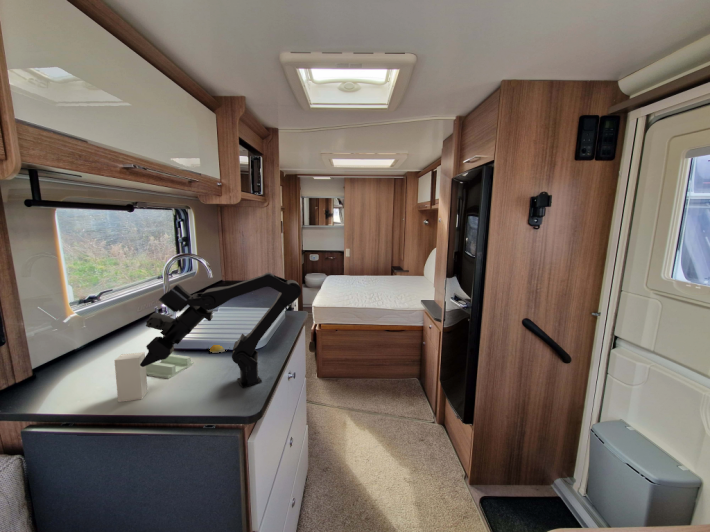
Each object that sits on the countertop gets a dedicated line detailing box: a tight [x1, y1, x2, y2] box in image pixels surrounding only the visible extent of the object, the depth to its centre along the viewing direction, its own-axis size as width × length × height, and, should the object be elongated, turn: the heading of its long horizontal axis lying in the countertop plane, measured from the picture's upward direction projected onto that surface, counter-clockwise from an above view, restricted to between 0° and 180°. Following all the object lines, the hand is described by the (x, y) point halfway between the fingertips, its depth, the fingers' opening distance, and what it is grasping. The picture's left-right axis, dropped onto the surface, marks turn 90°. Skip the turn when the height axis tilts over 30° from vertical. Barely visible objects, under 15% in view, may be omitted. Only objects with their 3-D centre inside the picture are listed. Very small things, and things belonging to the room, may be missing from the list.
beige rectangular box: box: [114, 351, 149, 403], centre depth 84 cm, size 6×4×13 cm, turn 107°
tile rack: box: [146, 353, 195, 380], centre depth 101 cm, size 12×11×4 cm
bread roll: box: [209, 345, 226, 354], centre depth 119 cm, size 8×9×4 cm
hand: (148, 358), depth 85 cm, fingers open, 9 cm apart
